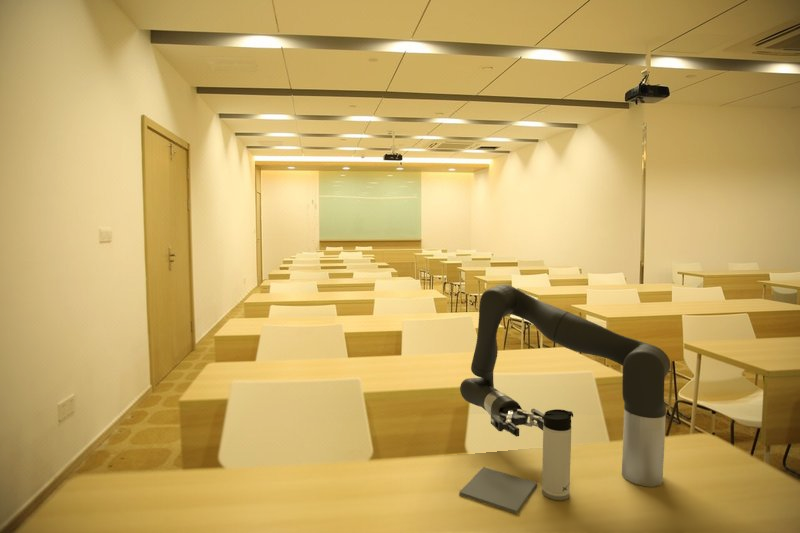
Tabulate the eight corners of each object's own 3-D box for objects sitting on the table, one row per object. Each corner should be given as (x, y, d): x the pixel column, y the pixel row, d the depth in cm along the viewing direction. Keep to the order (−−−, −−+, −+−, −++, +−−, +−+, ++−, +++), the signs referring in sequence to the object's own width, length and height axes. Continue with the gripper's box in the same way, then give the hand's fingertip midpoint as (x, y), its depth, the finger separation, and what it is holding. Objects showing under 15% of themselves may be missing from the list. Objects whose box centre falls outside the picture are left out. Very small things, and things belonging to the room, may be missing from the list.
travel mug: (572, 502, 111) (575, 418, 109) (543, 499, 112) (544, 415, 111) (569, 488, 117) (571, 407, 115) (540, 485, 118) (542, 405, 117)
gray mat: (483, 469, 126) (483, 466, 126) (536, 485, 118) (536, 482, 118) (459, 495, 114) (459, 491, 114) (516, 514, 107) (516, 510, 107)
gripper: (479, 397, 137) (508, 419, 121) (524, 392, 141) (557, 413, 125) (479, 423, 137) (507, 448, 122) (523, 417, 142) (556, 441, 126)
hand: (533, 430), depth 124 cm, fingers open, 8 cm apart
